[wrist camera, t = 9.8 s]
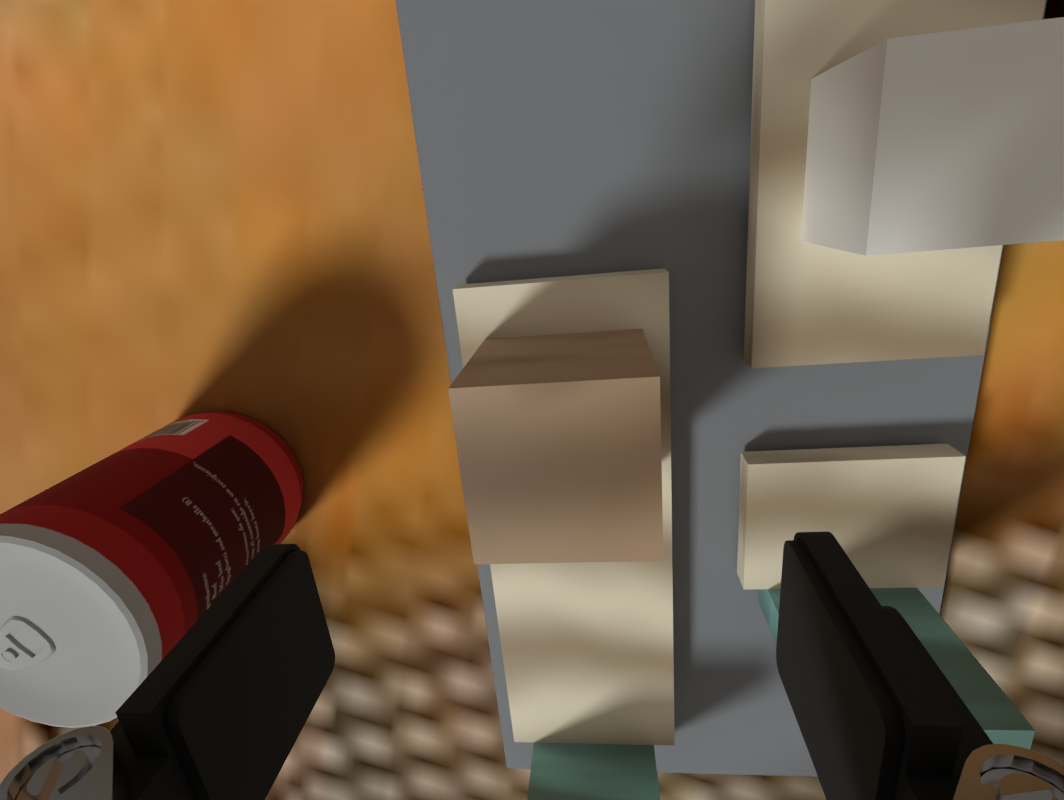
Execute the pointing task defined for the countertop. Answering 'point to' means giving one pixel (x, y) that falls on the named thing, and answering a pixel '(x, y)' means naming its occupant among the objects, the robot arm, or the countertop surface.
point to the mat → (694, 294)
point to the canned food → (133, 560)
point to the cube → (561, 448)
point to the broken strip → (858, 342)
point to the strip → (586, 574)
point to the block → (939, 142)
